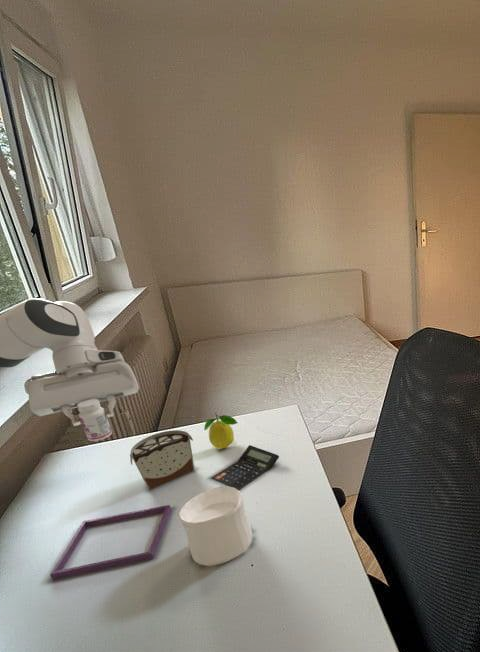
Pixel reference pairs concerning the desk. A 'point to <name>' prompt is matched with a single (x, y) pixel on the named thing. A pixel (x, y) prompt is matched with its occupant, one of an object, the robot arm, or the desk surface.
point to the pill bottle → (94, 420)
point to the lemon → (221, 431)
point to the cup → (216, 526)
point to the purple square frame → (60, 573)
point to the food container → (163, 457)
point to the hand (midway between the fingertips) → (94, 420)
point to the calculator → (247, 468)
